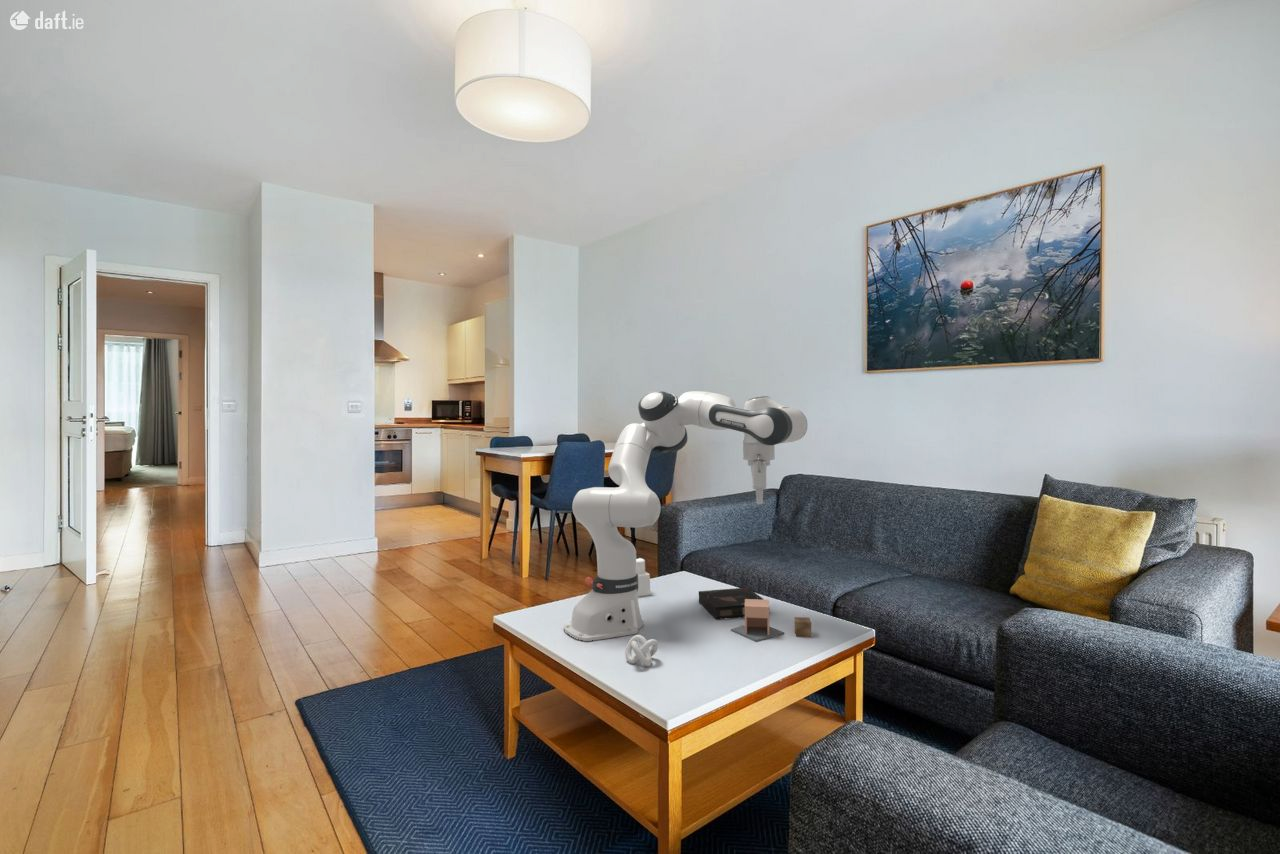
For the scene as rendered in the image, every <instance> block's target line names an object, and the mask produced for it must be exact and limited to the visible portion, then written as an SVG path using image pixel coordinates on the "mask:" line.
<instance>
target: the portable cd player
mask: <svg viewBox="0 0 1280 854" xmlns="http://www.w3.org/2000/svg"><path fill="white" fill-rule="evenodd" d="M745 599H759V600H765V599H764V598H763V597H762V596H761V595H758V594H757V593H756V592H755V591H753V590H752V589H751V588H749V587H739V588H737V587H735V588H727V589H726V588H725V589H723V588H721V589H712V590H699V591H698V603H699V605H700V606H702V607H703V609H704V610H706V611H707V612H708V613H709V614H710V616H712V618H714V620H716V619H718V620H726V619H725V618H730V619H738V618H739V617H741V618H745ZM769 614H770V610H769Z"/></svg>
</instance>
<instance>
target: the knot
mask: <svg viewBox="0 0 1280 854" xmlns="http://www.w3.org/2000/svg"><path fill="white" fill-rule="evenodd" d="M638 642H639V643H640V644H641V647H640V646H639V645H638V644H639V643H638ZM658 649H659V642H658V641H657V640H656V639H654V638H650V639H648V640H647V639H646V637H644V636H643V635H642V634H634V635H633V636H632V637H631V638H630V639H629V641H628V642H627V645H626V647H625V659H626V661H627V662H628V663H629V664H631V665H635V664H637V663H639V662H640V663H641V665H643V666H645V667H647V668H648V667H650V666H651V665H652V663H653V661H652V660H653V659H652V657H653V656H654V655H656V652H657V651H658ZM632 651H633V652H634V656H632Z"/></svg>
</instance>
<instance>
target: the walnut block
mask: <svg viewBox="0 0 1280 854" xmlns="http://www.w3.org/2000/svg"><path fill="white" fill-rule="evenodd" d="M793 621H794V627H793V628H794V634H795V638H812V621H811V618H810V617H805V616H804V617H803V616H801V617H799V616H795V617H794V620H793Z"/></svg>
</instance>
